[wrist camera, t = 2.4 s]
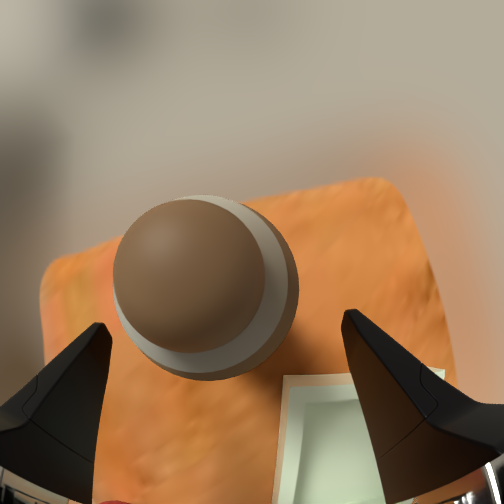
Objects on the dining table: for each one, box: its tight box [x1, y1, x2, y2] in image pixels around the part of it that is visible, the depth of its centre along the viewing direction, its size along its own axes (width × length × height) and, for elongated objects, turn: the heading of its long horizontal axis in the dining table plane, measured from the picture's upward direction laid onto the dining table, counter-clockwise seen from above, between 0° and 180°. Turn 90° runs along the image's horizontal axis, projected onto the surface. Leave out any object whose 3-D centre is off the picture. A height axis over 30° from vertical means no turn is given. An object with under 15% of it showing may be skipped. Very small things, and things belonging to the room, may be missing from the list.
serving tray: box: [271, 366, 445, 504], centre depth 14 cm, size 13×11×4 cm
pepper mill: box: [113, 195, 299, 381], centre depth 11 cm, size 5×5×15 cm
